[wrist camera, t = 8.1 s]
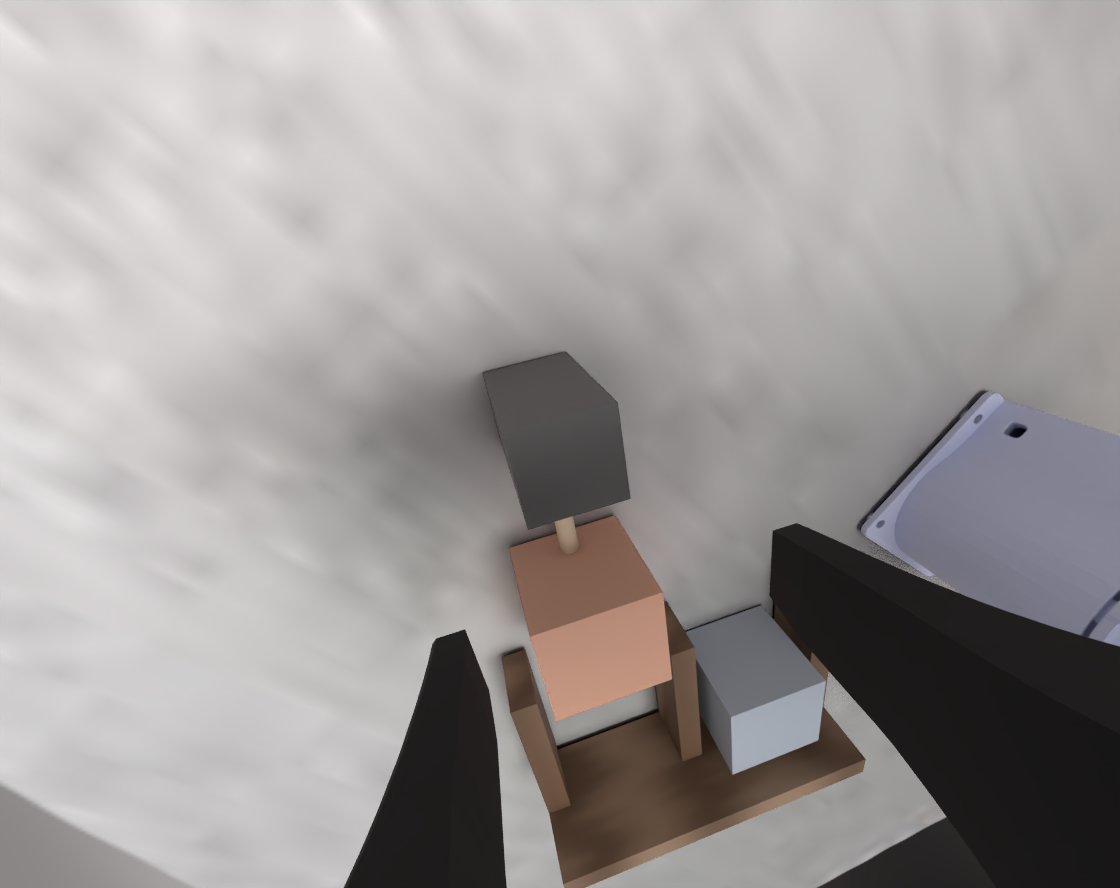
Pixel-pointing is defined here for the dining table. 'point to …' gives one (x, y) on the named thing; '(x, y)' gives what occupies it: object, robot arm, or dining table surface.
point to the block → (755, 689)
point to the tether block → (577, 537)
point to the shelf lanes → (659, 771)
